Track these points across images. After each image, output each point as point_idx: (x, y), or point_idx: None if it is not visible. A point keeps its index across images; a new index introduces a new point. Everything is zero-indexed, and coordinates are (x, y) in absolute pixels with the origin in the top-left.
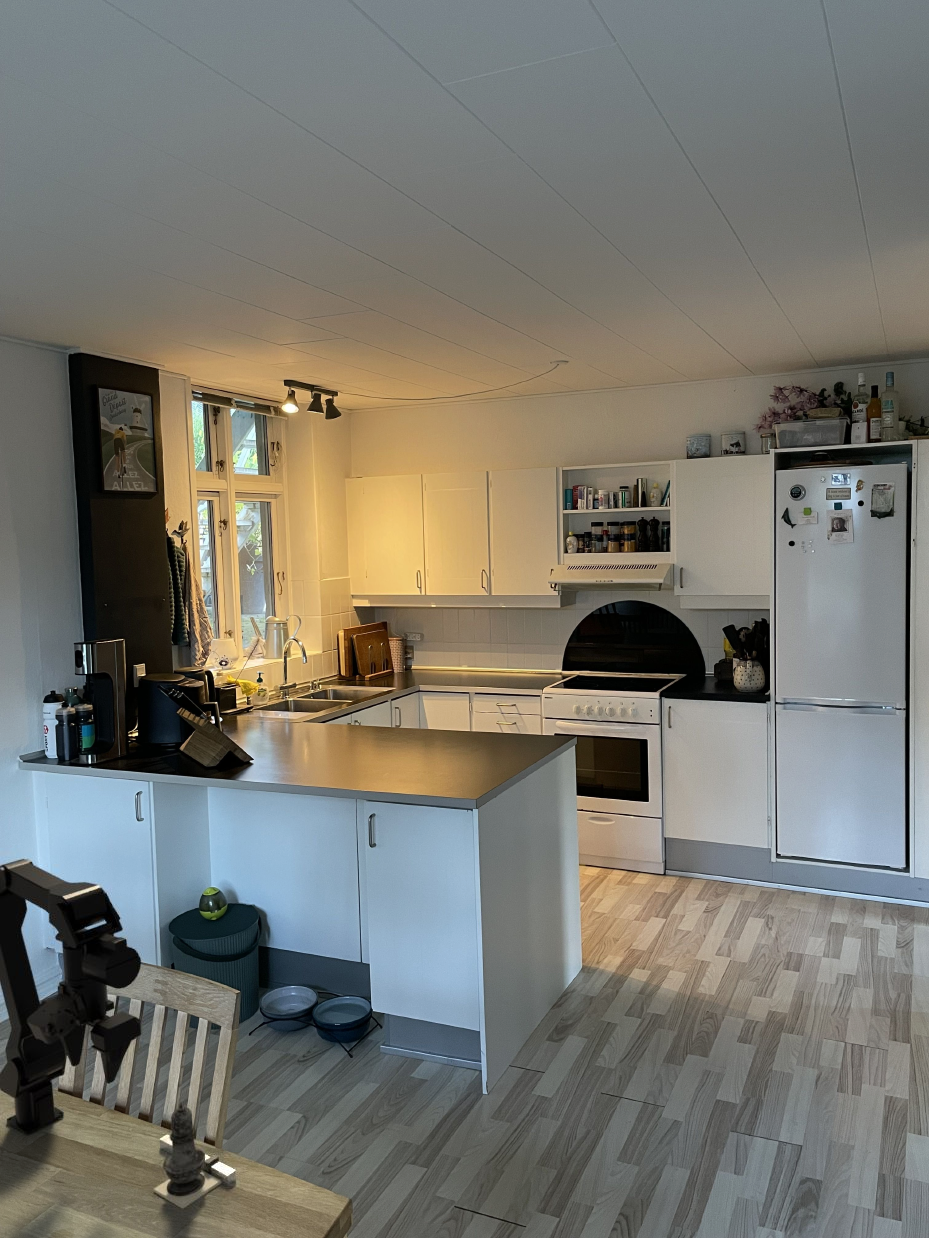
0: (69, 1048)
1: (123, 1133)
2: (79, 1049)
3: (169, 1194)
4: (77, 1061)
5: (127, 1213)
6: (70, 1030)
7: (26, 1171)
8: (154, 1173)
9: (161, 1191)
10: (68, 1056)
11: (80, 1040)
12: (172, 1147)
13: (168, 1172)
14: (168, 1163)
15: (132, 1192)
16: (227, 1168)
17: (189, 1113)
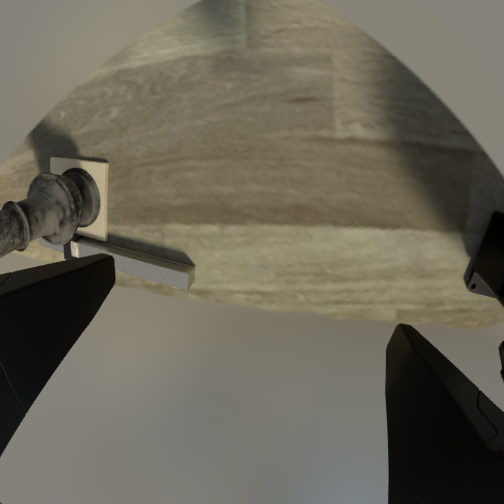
0: (431, 388)
1: (304, 281)
2: (395, 405)
3: (78, 166)
4: (392, 351)
5: (104, 101)
6: (451, 495)
7: (404, 103)
8: (144, 201)
9: (92, 165)
10: (432, 350)
11: (399, 449)
12: (151, 262)
13: (46, 172)
14: (52, 186)
15: (136, 142)
16: (48, 244)
17: None
